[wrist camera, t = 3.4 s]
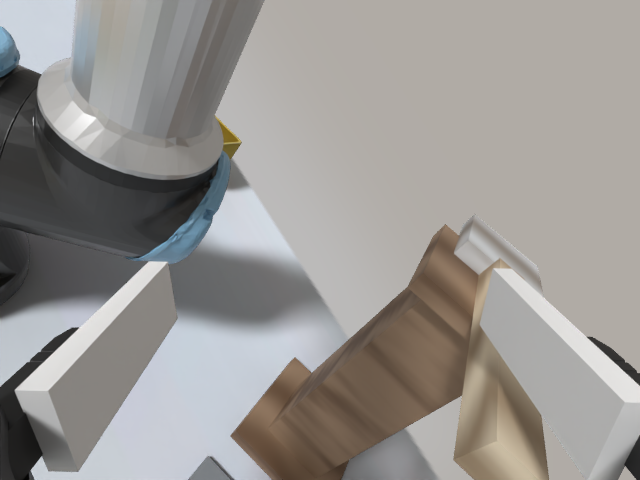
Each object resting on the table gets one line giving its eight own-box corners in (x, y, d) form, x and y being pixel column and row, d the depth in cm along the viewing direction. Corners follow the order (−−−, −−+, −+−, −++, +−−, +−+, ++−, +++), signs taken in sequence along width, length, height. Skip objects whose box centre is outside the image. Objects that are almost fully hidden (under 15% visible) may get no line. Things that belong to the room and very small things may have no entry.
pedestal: (315, 524, 35) (571, 414, 19) (230, 436, 36) (407, 268, 21) (357, 428, 45) (548, 307, 29) (289, 362, 46) (438, 213, 31)
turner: (555, 557, 12) (611, 546, 11) (403, 412, 13) (441, 389, 12) (523, 276, 31) (542, 262, 30) (462, 225, 32) (479, 210, 31)
